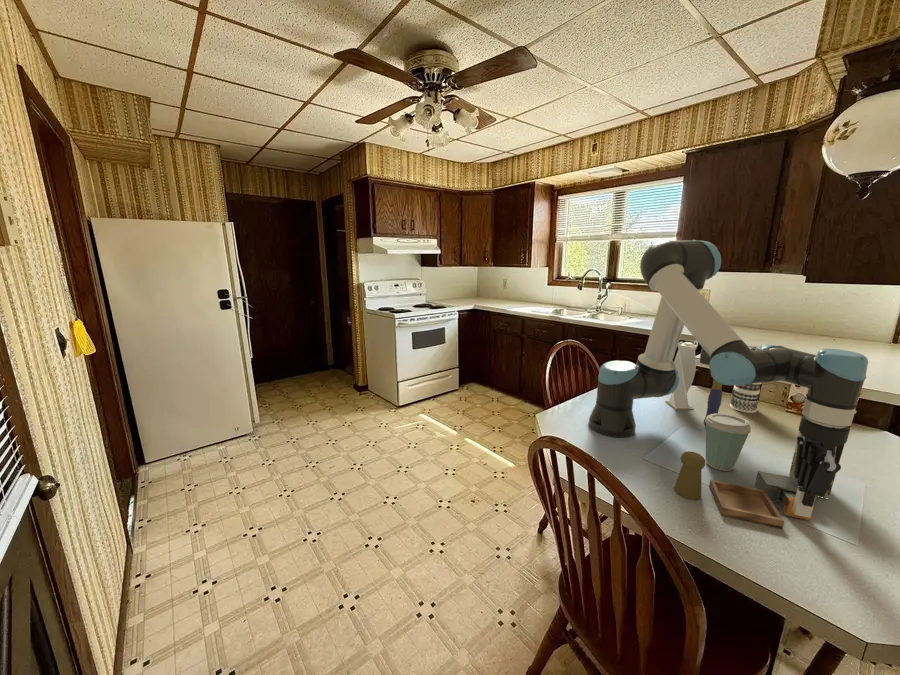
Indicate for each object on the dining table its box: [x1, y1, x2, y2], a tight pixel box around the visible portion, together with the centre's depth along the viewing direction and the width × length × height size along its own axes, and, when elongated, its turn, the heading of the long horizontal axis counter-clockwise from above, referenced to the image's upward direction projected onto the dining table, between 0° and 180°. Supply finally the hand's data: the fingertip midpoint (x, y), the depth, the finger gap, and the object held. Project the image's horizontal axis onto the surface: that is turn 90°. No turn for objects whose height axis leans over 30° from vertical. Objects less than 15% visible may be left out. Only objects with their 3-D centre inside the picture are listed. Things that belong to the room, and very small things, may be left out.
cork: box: [673, 451, 706, 501], centre depth 94 cm, size 6×6×11 cm
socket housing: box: [754, 470, 818, 509], centre depth 93 cm, size 10×6×4 cm, turn 67°
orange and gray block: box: [778, 489, 815, 521], centre depth 91 cm, size 4×12×4 cm, turn 157°
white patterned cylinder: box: [729, 345, 763, 414], centre depth 142 cm, size 9×9×25 cm
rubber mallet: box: [699, 347, 723, 428], centre depth 126 cm, size 12×8×30 cm, turn 54°
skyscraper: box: [665, 340, 699, 411], centre depth 143 cm, size 8×8×28 cm
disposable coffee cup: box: [705, 412, 752, 472], centre depth 106 cm, size 11×11×15 cm
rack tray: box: [708, 479, 785, 530], centre depth 90 cm, size 12×12×2 cm
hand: (800, 514), depth 85 cm, fingers closed
